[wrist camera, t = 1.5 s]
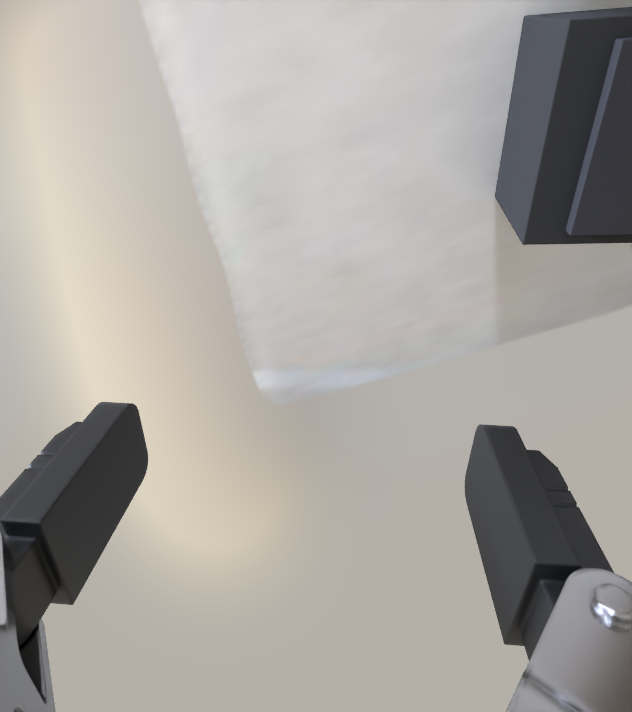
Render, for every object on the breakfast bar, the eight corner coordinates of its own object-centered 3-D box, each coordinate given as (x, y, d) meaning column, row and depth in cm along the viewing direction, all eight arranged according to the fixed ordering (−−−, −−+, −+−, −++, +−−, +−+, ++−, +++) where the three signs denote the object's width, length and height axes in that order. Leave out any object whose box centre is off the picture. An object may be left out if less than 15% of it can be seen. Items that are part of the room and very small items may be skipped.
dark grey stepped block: (494, 197, 32) (525, 251, 25) (523, 16, 26) (575, 19, 19) (588, 194, 31) (648, 249, 24) (641, 6, 25) (741, 6, 18)
